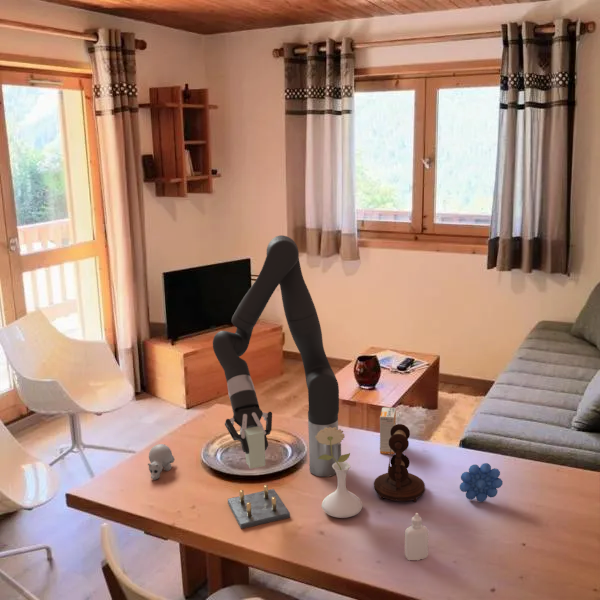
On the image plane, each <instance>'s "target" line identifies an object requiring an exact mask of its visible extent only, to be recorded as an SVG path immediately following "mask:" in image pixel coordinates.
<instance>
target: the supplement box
mask: <svg viewBox="0 0 600 600" xmlns="http://www.w3.org/2000/svg"><path fill="white" fill-rule="evenodd" d="M396 411H397V408H396V407H382V408H381V411H380V416H379V454H382V455H383V454H385V455H386V454H387V455H390V446H389V439H390V437H391V434H390V431H391V428H392V427H393V426H394V425H396V423H397V414H396V413H397V412H396ZM394 454H395V453H394V451H393V450H392V449H391V455H394Z"/></svg>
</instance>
